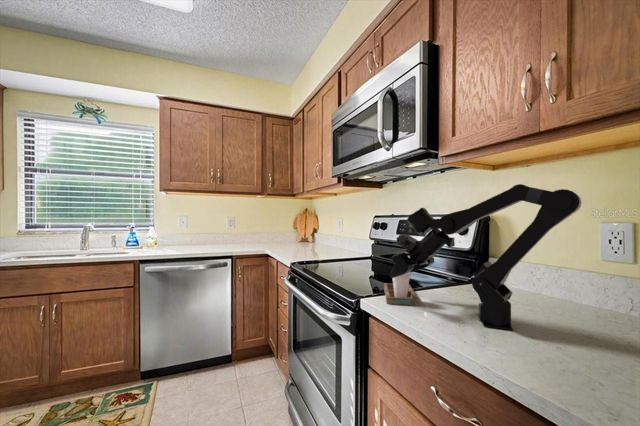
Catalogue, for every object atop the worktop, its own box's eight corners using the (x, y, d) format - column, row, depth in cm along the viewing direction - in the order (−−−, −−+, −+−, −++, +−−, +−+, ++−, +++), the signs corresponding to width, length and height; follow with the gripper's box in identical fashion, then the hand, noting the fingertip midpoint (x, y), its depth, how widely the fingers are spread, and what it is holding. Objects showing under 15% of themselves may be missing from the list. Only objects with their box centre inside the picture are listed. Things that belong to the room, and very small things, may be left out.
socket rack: (383, 288, 108) (383, 283, 108) (409, 289, 106) (409, 284, 106) (386, 304, 89) (387, 297, 89) (418, 305, 88) (418, 299, 88)
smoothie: (414, 302, 91) (414, 260, 91) (396, 303, 90) (396, 260, 89) (404, 296, 97) (405, 256, 97) (387, 297, 96) (387, 257, 96)
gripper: (425, 225, 97) (397, 253, 105) (397, 227, 84) (367, 259, 92) (448, 250, 91) (416, 277, 99) (422, 256, 78) (388, 287, 86)
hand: (397, 274), depth 94 cm, fingers open, 9 cm apart
